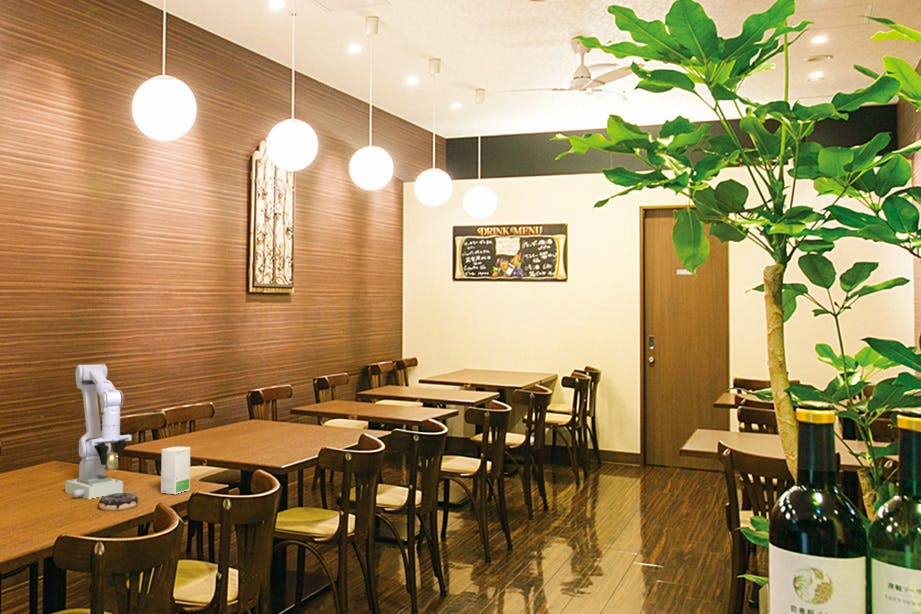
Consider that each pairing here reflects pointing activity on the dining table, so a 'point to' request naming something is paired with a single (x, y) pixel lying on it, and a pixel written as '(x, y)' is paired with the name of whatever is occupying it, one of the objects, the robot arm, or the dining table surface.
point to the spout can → (111, 461)
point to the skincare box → (175, 470)
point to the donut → (118, 501)
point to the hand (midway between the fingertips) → (110, 463)
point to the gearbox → (93, 486)
